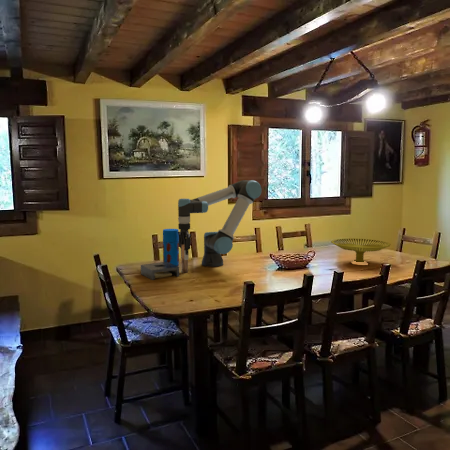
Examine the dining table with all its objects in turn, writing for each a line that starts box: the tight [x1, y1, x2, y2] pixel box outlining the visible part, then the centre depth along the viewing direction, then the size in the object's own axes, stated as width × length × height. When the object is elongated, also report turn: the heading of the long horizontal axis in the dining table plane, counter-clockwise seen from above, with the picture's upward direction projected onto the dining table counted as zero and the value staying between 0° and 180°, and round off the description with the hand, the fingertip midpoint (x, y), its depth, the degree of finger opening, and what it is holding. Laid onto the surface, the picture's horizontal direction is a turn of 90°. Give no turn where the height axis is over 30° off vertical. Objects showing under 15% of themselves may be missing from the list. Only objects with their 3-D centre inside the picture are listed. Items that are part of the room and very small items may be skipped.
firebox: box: [140, 261, 180, 281], centre depth 278 cm, size 18×18×6 cm
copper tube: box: [180, 244, 189, 274], centre depth 286 cm, size 4×4×18 cm
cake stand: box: [330, 237, 391, 262], centre depth 313 cm, size 40×40×15 cm
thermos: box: [162, 228, 180, 267], centre depth 304 cm, size 11×11×25 cm
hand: (184, 258), depth 286 cm, fingers closed on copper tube, 4 cm apart
